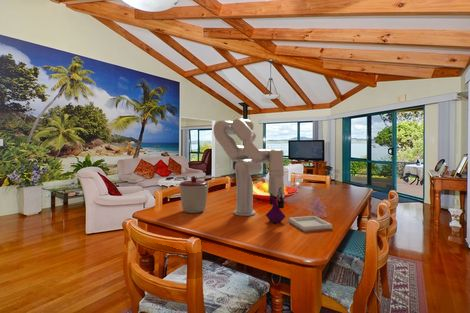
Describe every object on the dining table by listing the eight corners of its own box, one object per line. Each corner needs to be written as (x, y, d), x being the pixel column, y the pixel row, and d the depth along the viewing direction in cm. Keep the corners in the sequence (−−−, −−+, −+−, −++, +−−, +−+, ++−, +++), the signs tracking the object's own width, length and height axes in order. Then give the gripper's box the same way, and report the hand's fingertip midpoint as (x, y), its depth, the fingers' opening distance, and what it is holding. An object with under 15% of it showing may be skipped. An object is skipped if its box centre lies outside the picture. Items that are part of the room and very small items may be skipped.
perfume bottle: (274, 224, 129) (274, 189, 128) (265, 220, 135) (265, 187, 134) (285, 222, 132) (286, 188, 131) (276, 218, 139) (276, 185, 138)
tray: (288, 222, 133) (288, 217, 133) (314, 219, 137) (314, 215, 137) (303, 231, 119) (304, 226, 118) (331, 229, 122) (332, 224, 122)
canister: (172, 213, 147) (172, 177, 146) (187, 206, 165) (187, 173, 164) (201, 216, 142) (201, 179, 141) (213, 208, 159) (213, 175, 158)
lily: (304, 219, 142) (311, 206, 137) (302, 206, 152) (308, 193, 148) (324, 225, 142) (332, 213, 137) (321, 212, 152) (328, 200, 148)
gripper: (263, 172, 140) (263, 203, 140) (276, 175, 123) (276, 210, 123) (276, 171, 142) (276, 202, 142) (290, 174, 125) (291, 209, 125)
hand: (276, 206), depth 133 cm, fingers open, 9 cm apart
